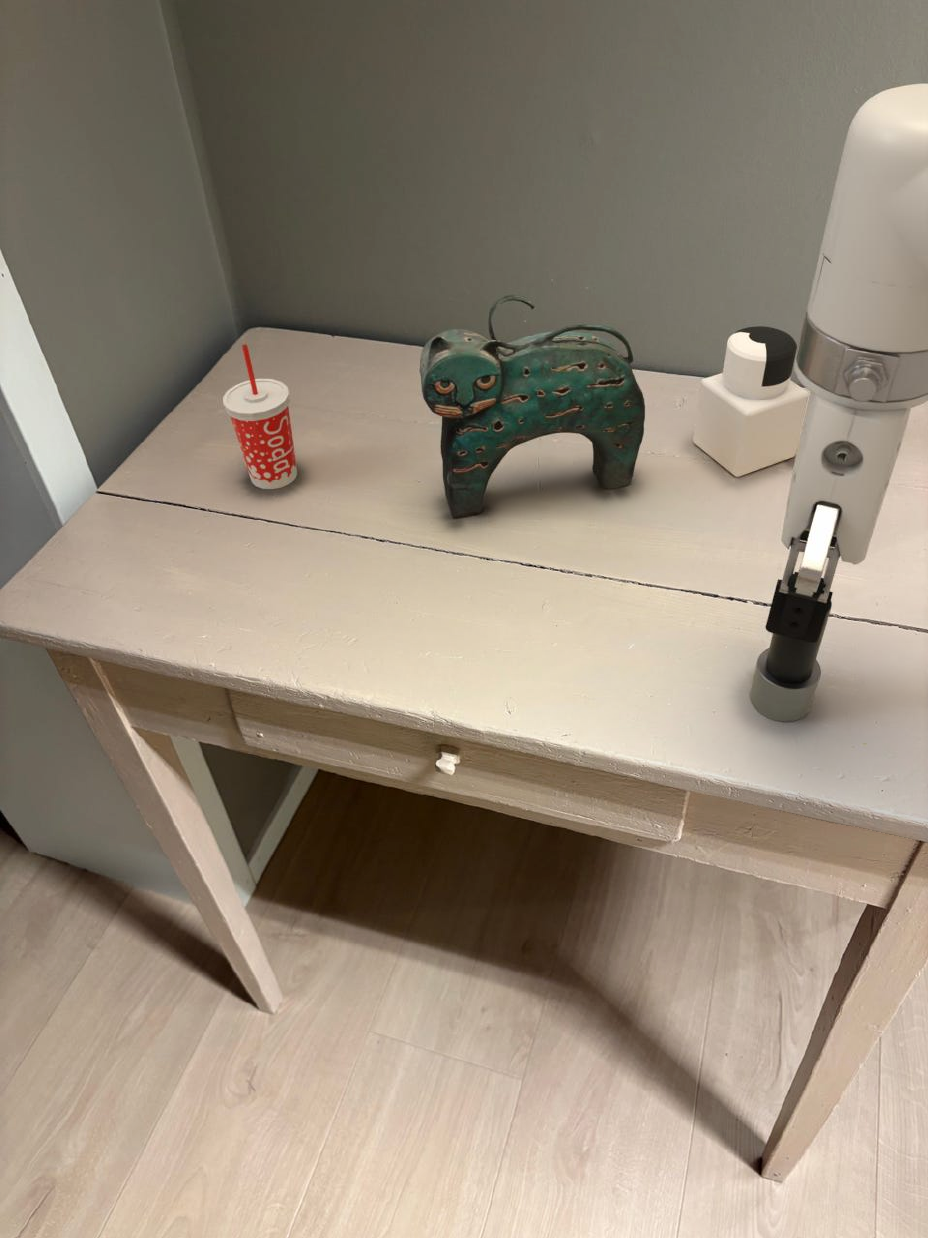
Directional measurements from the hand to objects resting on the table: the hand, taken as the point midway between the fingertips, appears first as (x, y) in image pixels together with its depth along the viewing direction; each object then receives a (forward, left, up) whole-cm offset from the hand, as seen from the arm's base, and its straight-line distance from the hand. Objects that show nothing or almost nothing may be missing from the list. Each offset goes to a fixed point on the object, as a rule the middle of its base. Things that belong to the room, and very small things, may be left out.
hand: (803, 585), depth 63 cm
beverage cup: (+51, -12, -11) cm, 53 cm away
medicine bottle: (+9, -31, -11) cm, 34 cm away
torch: (0, 0, -11) cm, 11 cm away
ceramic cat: (+26, -18, -11) cm, 33 cm away
